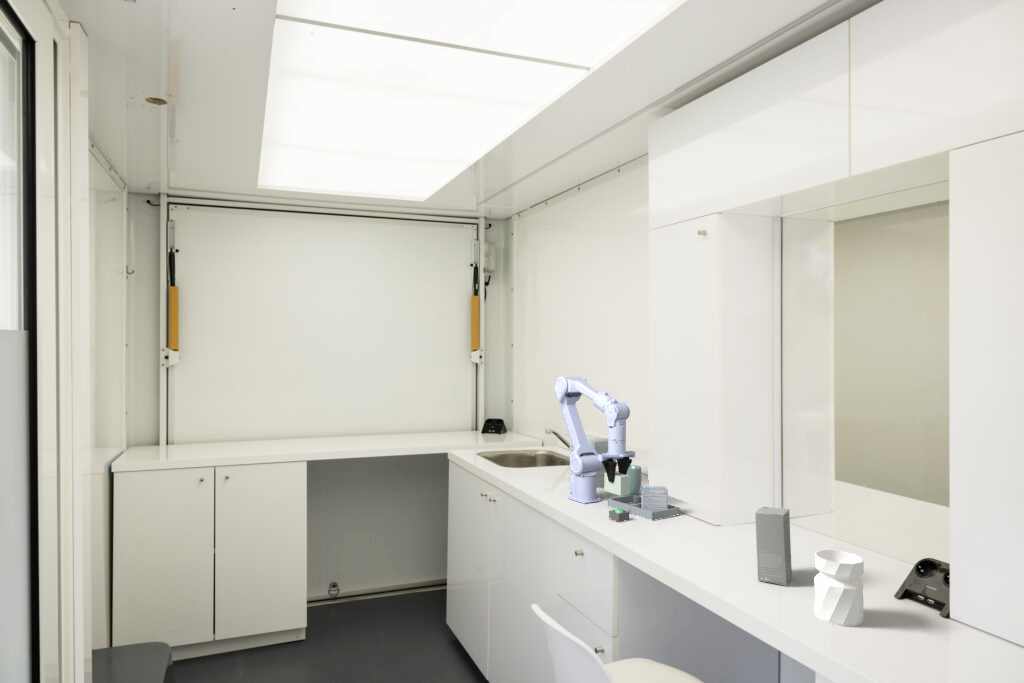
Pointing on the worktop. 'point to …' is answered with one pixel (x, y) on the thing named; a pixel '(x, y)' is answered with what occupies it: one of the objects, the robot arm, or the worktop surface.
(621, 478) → the carton
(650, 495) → the medicine box
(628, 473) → the cup
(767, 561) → the skincare box
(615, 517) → the button housing
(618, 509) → the button
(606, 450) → the supplement box
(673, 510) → the grey divided tray
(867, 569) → the worktop surface
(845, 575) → the white faceted vase
